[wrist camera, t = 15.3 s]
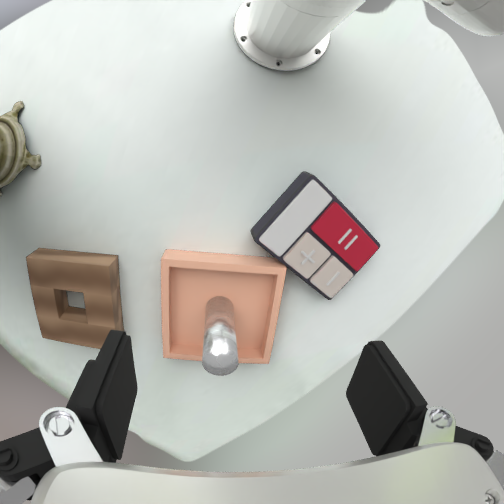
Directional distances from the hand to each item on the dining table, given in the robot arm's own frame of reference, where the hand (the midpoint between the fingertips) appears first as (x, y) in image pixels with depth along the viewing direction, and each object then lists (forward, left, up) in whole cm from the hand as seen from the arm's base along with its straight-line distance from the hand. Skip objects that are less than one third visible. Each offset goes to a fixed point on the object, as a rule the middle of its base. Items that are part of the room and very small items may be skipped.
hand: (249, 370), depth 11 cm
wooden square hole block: (+15, -22, -30) cm, 40 cm away
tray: (+14, 0, -30) cm, 34 cm away
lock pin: (+14, 0, -29) cm, 33 cm away
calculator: (+3, +12, -31) cm, 33 cm away
